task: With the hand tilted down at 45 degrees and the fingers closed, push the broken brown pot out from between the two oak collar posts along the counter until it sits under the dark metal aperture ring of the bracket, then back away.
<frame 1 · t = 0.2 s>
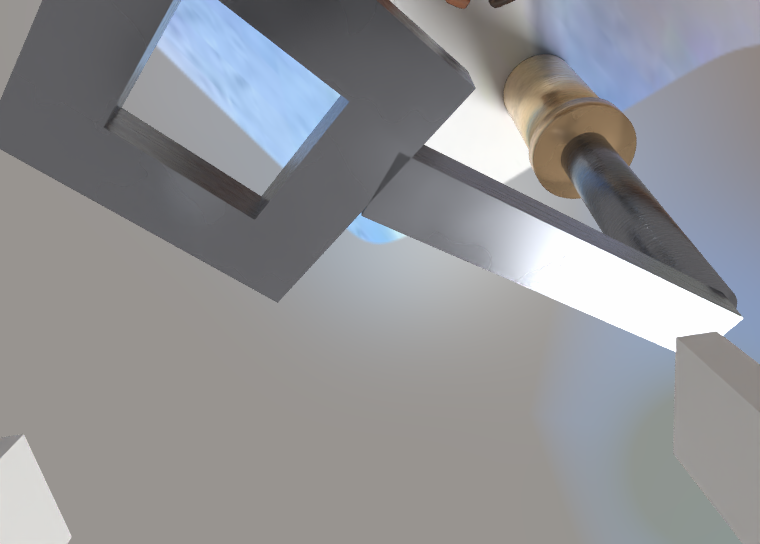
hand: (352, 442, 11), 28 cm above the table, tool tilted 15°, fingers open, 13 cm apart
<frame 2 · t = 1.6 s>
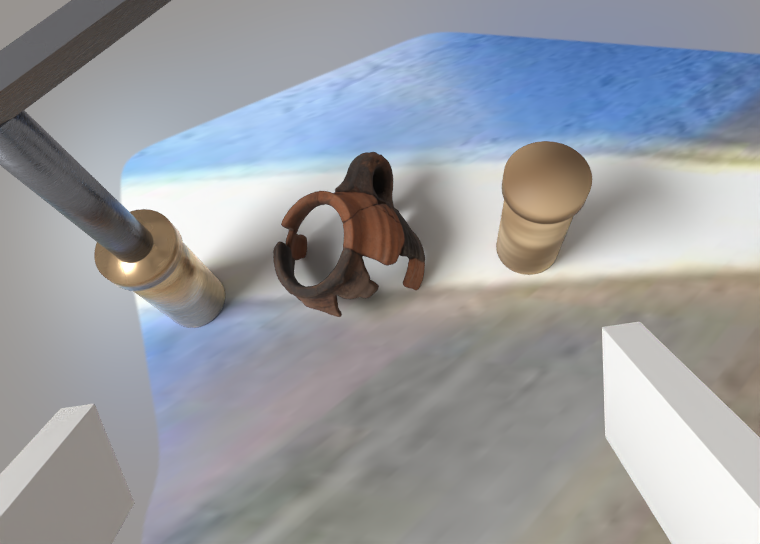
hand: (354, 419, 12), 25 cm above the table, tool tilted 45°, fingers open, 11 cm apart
broken brown pot: (362, 255, 42), on the table
oak collar post: (526, 247, 41), on the table
aperture bracket: (345, 164, 45), on the table
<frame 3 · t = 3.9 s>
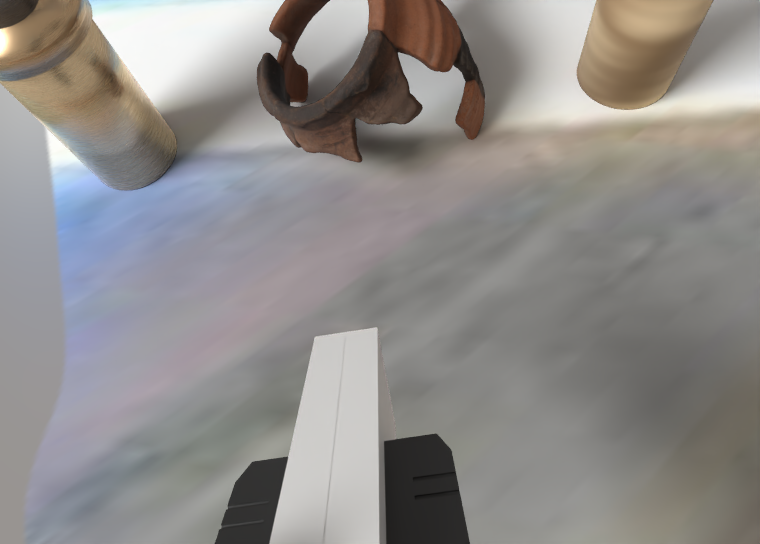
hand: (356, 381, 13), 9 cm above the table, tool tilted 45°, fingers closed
broken brown pot: (389, 98, 29), on the table
oak collar post: (623, 73, 27), on the table
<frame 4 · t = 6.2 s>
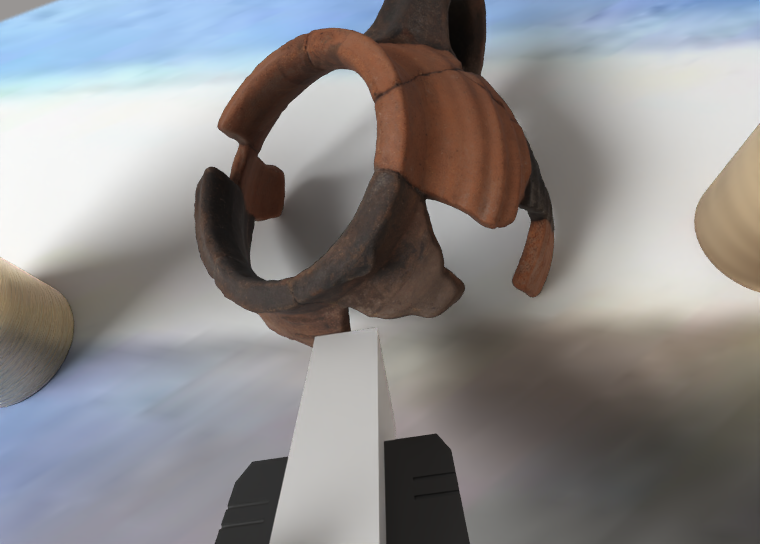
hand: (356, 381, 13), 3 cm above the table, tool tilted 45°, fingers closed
broken brown pot: (406, 216, 19), on the table
aperture bracket: (347, 60, 22), on the table
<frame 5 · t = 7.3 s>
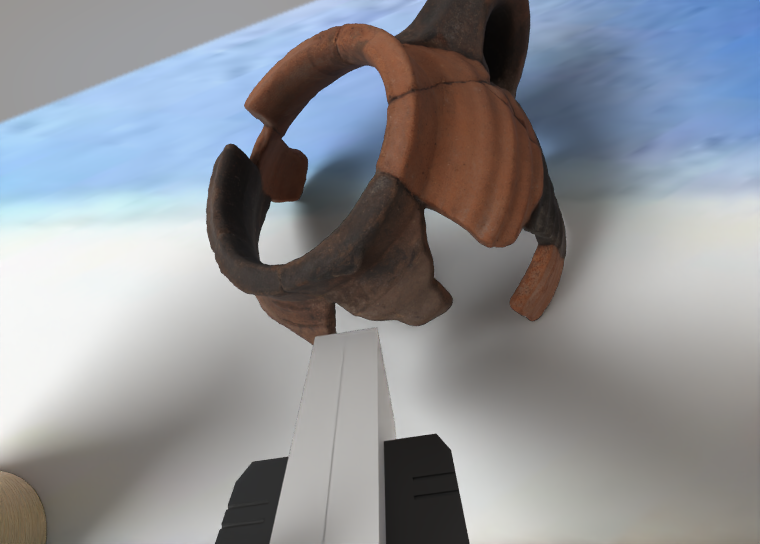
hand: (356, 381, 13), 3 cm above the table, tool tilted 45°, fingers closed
broken brown pot: (421, 219, 19), on the table
aperture bracket: (360, 195, 20), on the table
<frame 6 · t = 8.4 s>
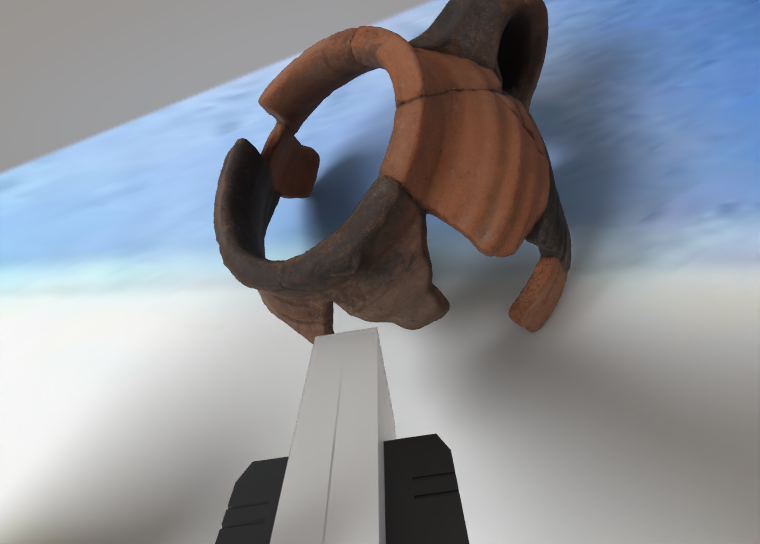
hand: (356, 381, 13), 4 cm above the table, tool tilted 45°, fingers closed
broken brown pot: (428, 223, 19), on the table, touching gripper
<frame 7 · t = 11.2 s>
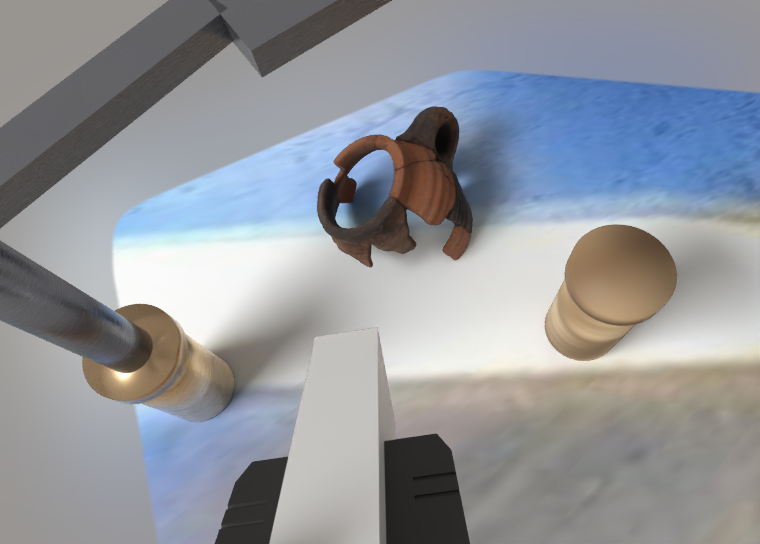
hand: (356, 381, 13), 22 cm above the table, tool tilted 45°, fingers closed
broken brown pot: (409, 213, 41), on the table
oak collar post: (580, 327, 36), on the table
aperture bracket: (368, 225, 40), on the table
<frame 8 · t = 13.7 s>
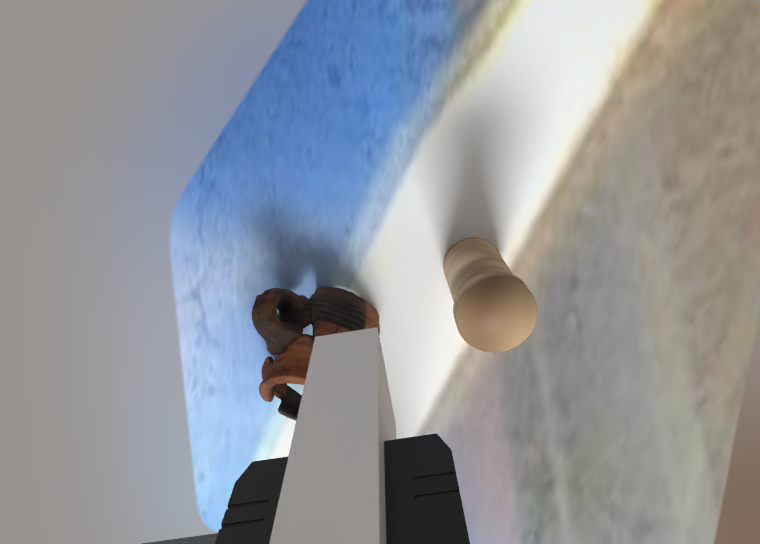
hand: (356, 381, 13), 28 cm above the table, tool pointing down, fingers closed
broken brown pot: (317, 329, 45), on the table
oak collar post: (472, 265, 43), on the table
aperture bracket: (304, 367, 46), on the table
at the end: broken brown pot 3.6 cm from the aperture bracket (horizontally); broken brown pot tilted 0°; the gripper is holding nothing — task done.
